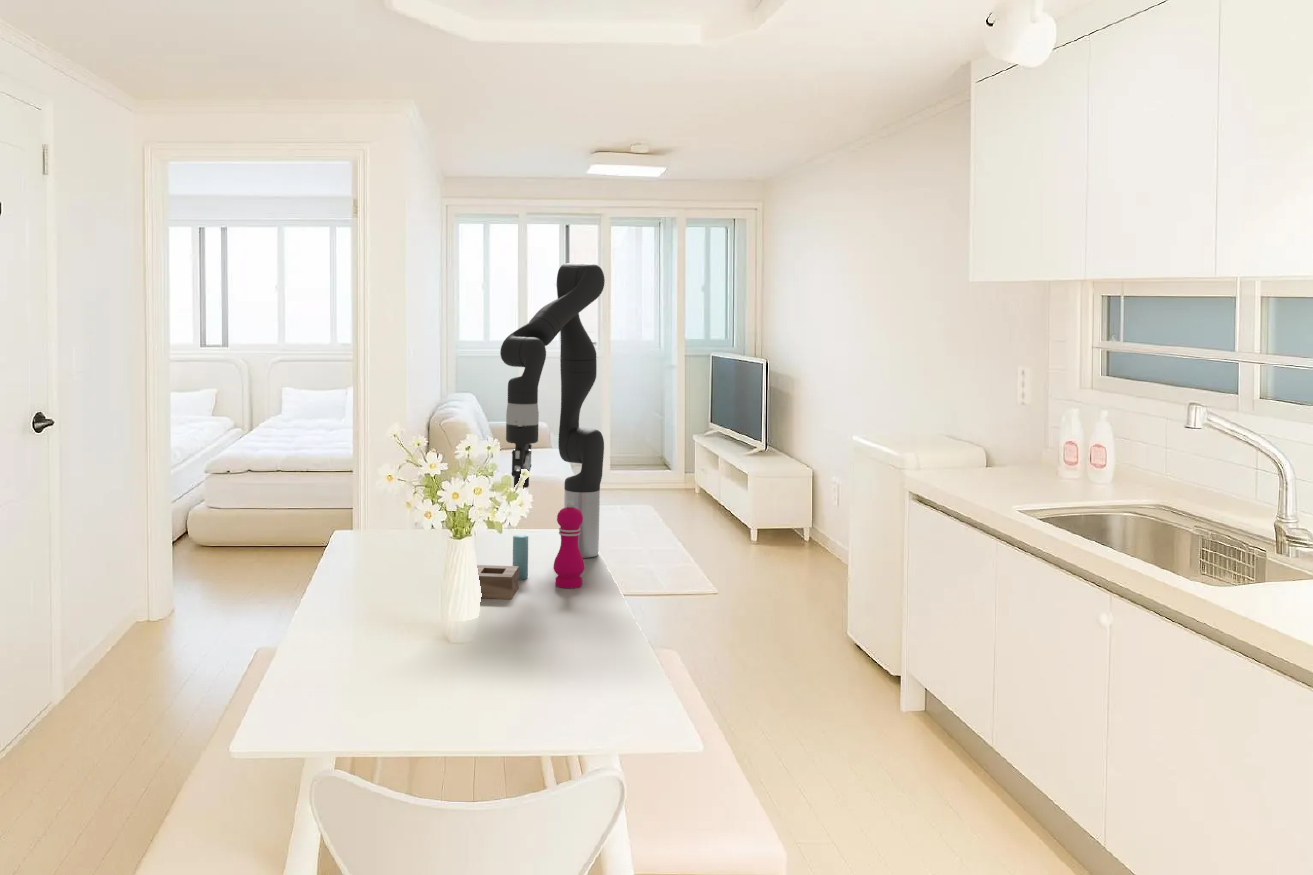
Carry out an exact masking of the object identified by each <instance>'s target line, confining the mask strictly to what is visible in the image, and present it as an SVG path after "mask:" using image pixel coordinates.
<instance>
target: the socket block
mask: <svg viewBox="0 0 1313 875" xmlns="http://www.w3.org/2000/svg"><path fill="white" fill-rule="evenodd" d="M476 565H477V568H478V575H479V580H480V586H481V593H482V598H481V599H495V600H497V599H498V600H499V599H500V600H501V599H502V600H512V599H513V598H514V596H515V594H516V593H517V591H518V590H519V584H520V583H519V582H520V580H519V566H513V565H495V564H493V565H491V564H489V565H488V564H476Z"/></svg>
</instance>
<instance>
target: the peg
mask: <svg viewBox="0 0 1313 875" xmlns="http://www.w3.org/2000/svg"><path fill="white" fill-rule="evenodd" d="M512 566H519V581H520V580H527V579H528V578H529V577H528V574H529V535H526V534H515V535H513V536H512Z"/></svg>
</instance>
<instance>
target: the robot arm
mask: <svg viewBox="0 0 1313 875" xmlns="http://www.w3.org/2000/svg"><path fill="white" fill-rule="evenodd" d="M556 275H557V277H556V295H557V296H556V297H557V298H556V299H554V300H552V301H551V302H549V303H547V304H546V305H544V306H543V307H541V308H540V309H539V310H538V311H537V312H536V313H535V314H534V315H533V317H532V318H531V319H530V320H529V321H528V322H527V323H526V324H524V325H523V326H521V327H519V328H518V329H516V330H515V331H513V332H511V333H510V334H509V335H508V336H507V337H506V338H505V339H504V340H503V342H502V343H501V346H500V353H499V354H500V355H499V356H500V358H501V360H502V361H503V363H504V364H505V365H507V366H509V367H514V368H517V367H518V368H524V370H523V372H522V375H521V376H515V377H512V378H510V379H509V380H508V383H507V406H506V411H505V412H506V413H505V415H506V417H505V420H506V421H505V425H506V426H505V441H506V442H507V443H509V444H514V445H515V446H514V449H513V450H512V451H511V455H512V456H511V457H512V458H511V459H512V460H511V473H510V474H511V477H512V478H513V488H514V487H515V485H516V484H517V483H518V481H519V478H520V474H521V469H527V470H528V471H529V473H530V471H531V468H532V444H537V443H538V442H539V417H540V416H539V404H538V402H539V401H538V398H539V397H538V395H539V394H538V393H539V383H540V379H541V376H542V372H543V369H544V366H545V362H546V358H547V349H546V347H547V346H548V345H550V344H551V342H553V340H554V339H555V338H556V336H557V335H558V334H559V333H560V357H559V360H560V364H559V365H560V387H561V388H560V415H559V416H560V417H559V427H558V428H559V429H558V443H557V444H558V452H559V456H560V458H561V459H562V461H564V462H567V463H571V464H573V463H574V464H581V467H580V468H581V469H580V472H578V473H577V474H575V475H571V476H568V477H566V478H565V479H564V484H563V486H564V491H563V492H564V495H563V496H564V498H563V501H564V502H563V503H564V504H563V508H566V507H567V506H566V503H567V502H568V501H573V503H574V506H573V507H574V508H577V509H579V510H580V511H581V513H582V516H583V522H582V524H581V525H580V526H579V528H580V529H581V530H580V535H579V536H578V546H579V550H580V553H581V555H582V557H583V559H586V558H594V557H597V556H598V555H599V554H598V552H599V550H600V549H599V547H600V546H599V545H600V508H601V507H600V505H601V504H600V503H601V502H600V501H601V500H600V498H601V496H600V494H601V482H602V479H603V468H604V458H605V457H604V455H605V441H604V440H605V439H604V436H603V434H602V432H601V431H600V430H598V429H595V428H594V429H593V428H585V427H580V415H581V414H580V413H581V408H582V405H583V404H584V402H585V400H586V399H587V396H588V395H589V393H590V391H591V390H592V388H593V386H594V384H595V383H596V379H597V371H598V370H597V351H596V347H595V345H594V343H593V341H592V339H591V338H590V336H589V334H588V331H586V329H585V327H584V325H583V323H582V321H581V318H580V313H581V312H582V311H583V310H584V309H586V308H587V307H588V306H590V305H591V304H592V303H593V302H594V301H596V300H597V299H598V298H599V297H600V296H601V294H602V292H603V291H604V287H605V274H604V271H603V269H602V268H601V267H600V266H599V265H598V264H595V263H590V262H589V263H587V262H583V263H582V262H579V263H578V262H574V263H573V262H568V263H567V262H566V263H562V265H561V266H560V267H559V268H558V271H557V274H556ZM529 485H530V476H529V477H528V478H527V479H526V480H525V483H524V485H523V489H527V488H528V487H530V486H529Z"/></svg>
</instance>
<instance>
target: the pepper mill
mask: <svg viewBox="0 0 1313 875" xmlns="http://www.w3.org/2000/svg"><path fill="white" fill-rule="evenodd" d="M566 506H567V507H566V508H564V507H562V508H561V509H560V510H559V511H558V513H557V516H556V522H557V524H558V525H559V528H558V530H559V532H558V535H560V545H559V550H558V552H557V554H556V557H555V558H554V562H553V571H554V573H555V574H556V577H555V581H554V583H555V584H554V585H555V586H556V587H557V588H562V589H576V588H580V587H582V586H583V577H582V576H581V575H582V574H583V572H584V571H585V568H586V567H585V561H584V558H583V557H582V555H581V553H580V550H579V546H578V536H579V535H580V530H581V529H580V528H579V526H580V525H581V524H582V522H583V516H582V513H581V511H580V510H579V509H577V508H574V507H573V506H574V503H573V501H568V502H567V503H566Z"/></svg>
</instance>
